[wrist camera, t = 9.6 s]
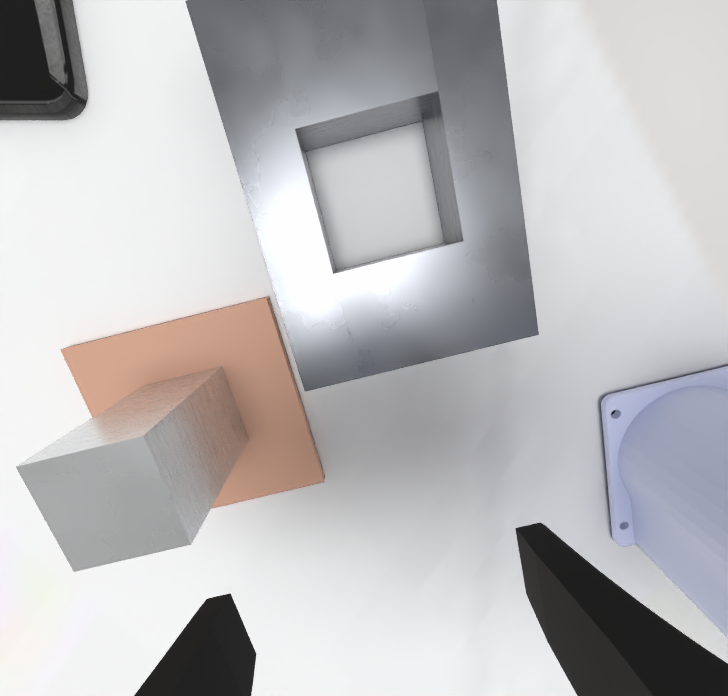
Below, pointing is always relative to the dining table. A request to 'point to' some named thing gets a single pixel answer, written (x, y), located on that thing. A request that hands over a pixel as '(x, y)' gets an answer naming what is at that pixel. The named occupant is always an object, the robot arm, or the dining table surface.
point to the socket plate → (360, 118)
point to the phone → (40, 61)
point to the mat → (245, 376)
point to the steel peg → (139, 470)
